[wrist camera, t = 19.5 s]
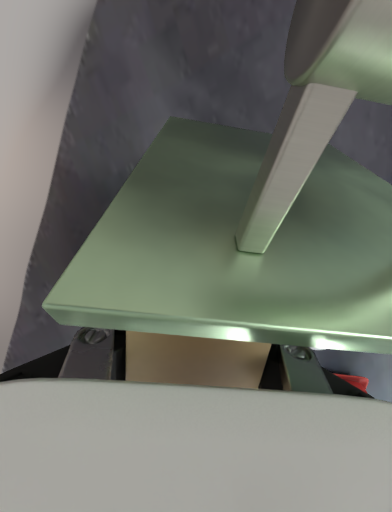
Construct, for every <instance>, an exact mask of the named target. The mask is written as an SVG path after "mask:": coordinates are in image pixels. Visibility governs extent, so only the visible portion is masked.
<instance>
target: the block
mask: <svg viewBox="0 0 392 512" xmlns="http://www.w3.org/2000/svg"><path fill="white" fill-rule="evenodd" d="M270 348H271V344H270V343H259V342H248V341H237V340H226V339H215V338H204V337H193V336H181V335H170V334H159V333H148V332H137V331H126V371H125V381H138V382H156V383H174V384H191V385H207V386H223V387H239V388H255V389H258V386H259V383H260V380H261V377H262V373H263V370H264V367H265V364H266V361H267V357H268V354H269V351H270Z"/></svg>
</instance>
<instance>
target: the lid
mask: <svg viewBox="0 0 392 512" xmlns="http://www.w3.org/2000/svg"><path fill="white" fill-rule="evenodd" d="M284 74H285V78H286V80H287V81H288V82H289V83H290V84H291V87H290V90H289V93H288V95H287V98H286V101H285V103H284V106H283V108H282V111H281V114H280V116H279V119H278V122H277V124H276V127H275V130H274V132H273V134H269V133H263V132H258V131H252V130H246V129H240V128H235V127H229V126H223V125H218V124H212V123H206V122H201V121H195V120H189V119H183V118H178V117H172V116H170V117H169V119H168V120H167V122H166V123H165V125H164V126H163V128H162V129H161V130H160V132H159V133H158V135H157V136H156V138H155V139H154V141H153V142H152V144H151V145H150V147H149V148H148V149H147V151H146V152H145V154H144V155H143V157H142V158H141V160H140V161H139V163H138V164H137V166H136V167H135V168H134V170H133V171H132V173H131V174H130V176H129V177H128V179H127V180H126V182H125V183H124V185H123V186H122V187H121V189H120V190H119V192H118V193H117V195H116V196H115V198H114V199H113V201H112V202H111V204H110V205H109V207H108V208H107V209H106V211H105V212H104V214H103V215H102V217H101V218H100V220H99V221H98V223H97V224H96V226H95V227H94V228H93V230H92V231H91V233H90V234H89V236H88V237H87V239H86V240H85V242H84V243H83V245H82V246H81V247H80V249H79V250H78V252H77V253H76V255H75V256H74V258H73V259H72V261H71V262H70V264H69V265H68V266H67V268H66V269H65V271H64V272H63V274H62V275H61V277H60V278H59V280H58V281H57V283H56V284H55V285H54V287H53V288H52V290H51V291H50V293H49V294H48V296H47V297H46V299H45V300H44V302H43V304H42V307H43V308H44V309H45V310H46V312H47V313H48V314H49V315H50V316H51V317H52V318H53V319H54V320H55V321H56V322H57V323H59V324H60V325H70V326H82V327H93V328H104V329H115V330H126V331H137V332H148V333H159V334H170V335H181V336H193V337H204V338H215V339H226V340H237V341H248V342H259V343H270V344H281V345H292V346H304V347H315V348H326V349H337V350H348V351H359V352H370V353H381V354H392V185H390V184H389V183H387V182H386V181H384V180H383V179H381V178H380V177H378V176H377V175H375V174H374V173H372V172H371V171H369V170H368V169H366V168H365V167H363V166H362V165H360V164H358V163H357V162H355V161H354V160H352V159H351V158H349V157H348V156H346V155H345V154H343V153H342V152H340V151H339V150H337V149H336V148H334V147H333V146H331V145H330V144H328V143H329V141H330V140H331V138H332V136H333V134H334V133H335V131H336V129H337V128H338V126H339V124H340V122H341V121H342V119H343V117H344V116H345V114H346V112H347V110H348V109H349V107H350V105H351V104H352V102H353V100H354V99H355V98H358V99H363V100H368V101H373V102H379V103H384V104H389V105H392V0H297V1H296V5H295V8H294V12H293V16H292V20H291V24H290V29H289V33H288V39H287V44H286V51H285V60H284Z"/></svg>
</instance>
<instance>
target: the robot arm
mask: <svg viewBox="0 0 392 512" xmlns="http://www.w3.org/2000/svg"><path fill="white" fill-rule="evenodd" d="M125 371H126V330H115V329H104V328H93V327H82V328H81V329H80V330H79V331H77V333H76V334H75V336H74V338H73V341H72V343H71V345H69V346H66V347H64V348H61V349H59V350H57V351H54V352H52V353H49V354H47V355H45V356H42V357H40V358H37V359H35V360H33V361H30V362H28V363H25V364H23V365H21V366H18V367H16V368H13V369H11V370H9V371H6V372H4V373H2V374H0V512H392V403H390V402H387V401H382V400H377V399H375V398H374V397H372V396H370V395H369V394H367V393H366V392H364V391H362V390H360V389H359V388H357V387H355V386H354V385H352V384H350V383H348V382H347V381H345V380H343V379H341V378H340V377H338V376H336V375H335V374H333V373H331V372H329V371H328V370H326V369H324V368H323V367H321V366H320V364H319V362H318V359H317V357H316V355H315V353H314V352H313V350H312V349H311V348H310V347H304V346H292V345H281V344H271V348H270V351H269V354H268V357H267V361H266V364H265V367H264V370H263V373H262V377H261V380H260V383H259V386H258V389H255V388H239V387H223V386H207V385H191V384H174V383H156V382H138V381H125Z"/></svg>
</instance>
